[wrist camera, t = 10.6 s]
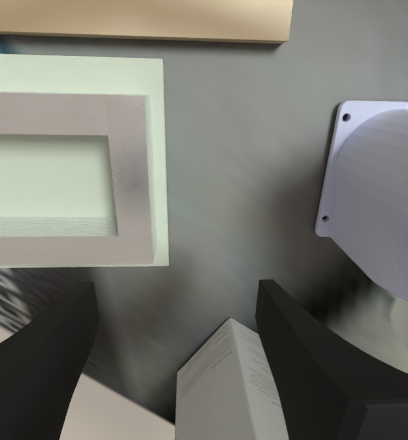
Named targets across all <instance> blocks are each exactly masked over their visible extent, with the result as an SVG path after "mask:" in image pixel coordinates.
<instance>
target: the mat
mask: <svg viewBox="0 0 408 440" xmlns="http://www.w3.org/2000/svg"><path fill="white" fill-rule="evenodd" d="M0 91H20V92H63V93H106V94H149V95H150V98H151V119H152V141H153V163H154V184H155V206H156V228H157V245H156V251H155V256H154V261H153V264H77V265H0V268H23V267H116V266H169V246H168V212H167V178H166V144H165V110H164V76H163V59H148V58H115V57H81V56H47V55H14V54H0ZM0 217H117V216H116V207H115V197H114V187H113V178H112V168H111V159H110V149H109V139H108V135H44V134H0Z"/></svg>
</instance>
